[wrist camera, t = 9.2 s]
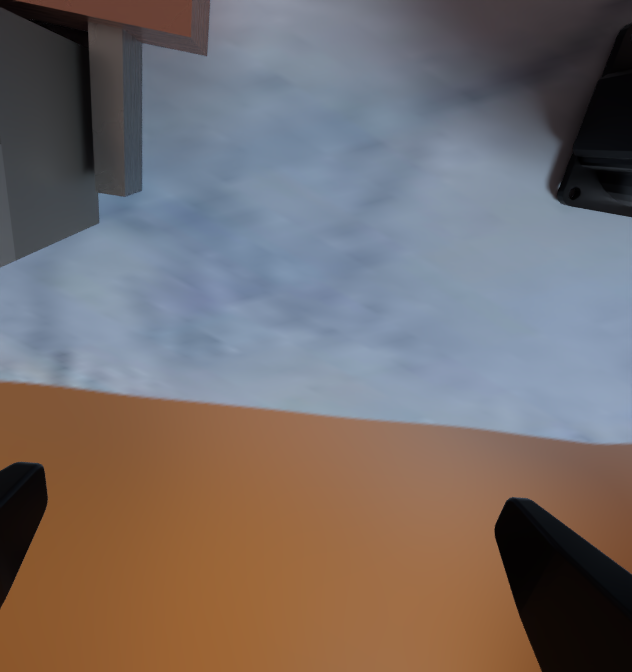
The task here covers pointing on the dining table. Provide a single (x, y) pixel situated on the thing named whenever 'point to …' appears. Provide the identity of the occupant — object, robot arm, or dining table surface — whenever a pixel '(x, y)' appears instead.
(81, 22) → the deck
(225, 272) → the dining table surface
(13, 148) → the grey stepped block
